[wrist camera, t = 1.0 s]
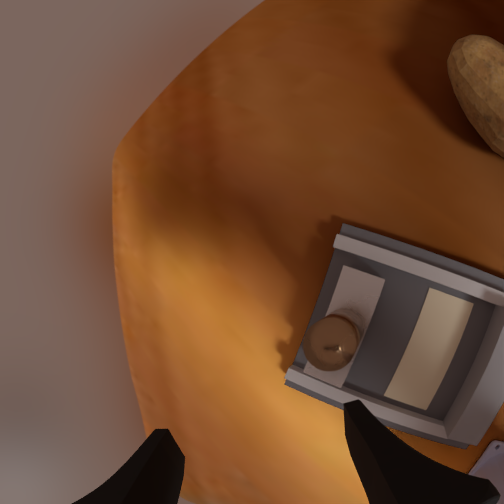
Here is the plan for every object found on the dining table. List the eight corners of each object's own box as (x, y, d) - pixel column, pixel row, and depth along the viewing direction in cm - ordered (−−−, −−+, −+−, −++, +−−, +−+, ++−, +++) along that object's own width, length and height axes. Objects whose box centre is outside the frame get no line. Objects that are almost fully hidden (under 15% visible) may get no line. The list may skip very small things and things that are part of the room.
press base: (530, 293, 16) (554, 296, 12) (463, 441, 17) (471, 467, 13) (345, 226, 24) (336, 215, 20) (290, 378, 25) (270, 396, 21)
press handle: (385, 279, 20) (384, 281, 13) (346, 376, 21) (325, 419, 14) (348, 266, 21) (328, 261, 15) (311, 362, 22) (277, 397, 15)
